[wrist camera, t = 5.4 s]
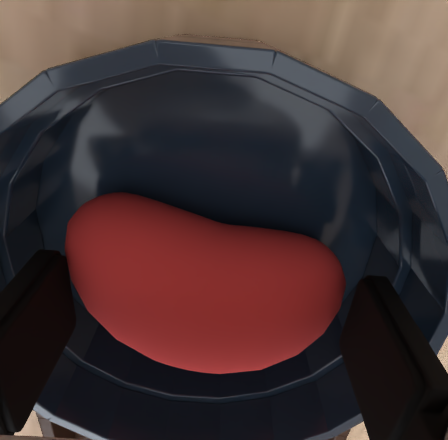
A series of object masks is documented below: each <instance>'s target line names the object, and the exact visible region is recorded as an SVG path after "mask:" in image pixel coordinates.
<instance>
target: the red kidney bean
mask: <svg viewBox="0 0 448 440" xmlns="http://www.w3.org/2000/svg"><path fill="white" fill-rule="evenodd" d="M65 254H66V259H67V264H68V268H69V273H70V278H71V281H72V283H73V285H74V287H75V288H76V290H77V292H78V294H79V296H80V297H81V299H82V301H83V303H84V305H85V307H86V308H87V310H88V312H89V313H90V314H91V315H92V316H93V317H94V318H95V319H96V320H97V321H98V322H99V323H100V324H101V325H102V326H103V327H104V328H105V329H106V330H107V331H108V332H109V333H110V334H111V335H112V336H113V337H114V338H115V339H116V340H118V341H120V342H122V343H124V344H125V345H127V346H129V347H131V348H133V349H134V350H136V351H138V352H140V353H142V354H143V355H145V356H147V357H149V358H151V359H152V360H155V361H157V362H160V363H163V364H166V365H169V366H173V367H177V368H181V369H185V370H190V371H196V372H203V373H212V374H226V373H236V372H246V371H255V370H262V369H264V368H267V367H269V366H272V365H274V364H277V363H279V362H281V361H284V360H286V359H289V358H291V357H294V356H296V355H298V354H299V353H300V352H302V351H303V350H304V349H305V348H307V347H308V346H309V345H310V344H312V343H313V342H314V341H315V340H316V339H318V338H319V337H320V336H321V335H323V334H324V332H325V331H326V329H327V328H328V326H329V325H330V323H331V322H332V320H333V319H334V317H335V316H336V314H337V313H338V311H339V309H340V307H341V304H342V300H343V296H344V292H345V288H346V279H345V276H344V273H343V269H342V266H341V264H340V262H339V260H338V258H337V257H336V256H335V254H334V253H333V252H332V251H331V250H330V249H329V248H328V247H327V246H326V245H324V244H323V243H322V242H320V241H318V240H316V239H314V238H311V237H308V236H306V235H303V234H298V233H293V232H288V231H281V230H274V229H267V228H259V227H250V226H240V225H229V224H224V223H220V222H216V221H213V220H211V219H208V218H205V217H202V216H200V215H197V214H194V213H191V212H188V211H185V210H183V209H180V208H177V207H174V206H171V205H168V204H165V203H162V202H159V201H156V200H153V199H150V198H147V197H143V196H140V195H136V194H130V193H124V192H116V193H109V194H105V195H101V196H98V197H96V198H94V199H92V200H90V201H88V202H86V203H85V204H83V205H82V206H81V207H80V208H79V209H78V210H77V211H76V213H75V214H74V215H73V216H72V218H71V219H70V220H69V222H68V224H67V232H66V240H65Z"/></svg>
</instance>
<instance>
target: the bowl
mask: <svg viewBox="0 0 448 440" xmlns="http://www.w3.org/2000/svg"><path fill="white" fill-rule="evenodd" d="M116 192H124V193H130V194H136V195H140V196H143V197H147V198H150V199H153V200H156V201H159V202H162V203H165V204H168V205H171V206H174V207H177V208H180V209H183V210H185V211H188V212H191V213H194V214H197V215H200V216H202V217H205V218H208V219H211V220H213V221H216V222H220V223H224V224H229V225H240V226H250V227H259V228H267V229H274V230H281V231H288V232H293V233H298V234H303V235H306V236H308V237H311V238H314V239H316V240H318V241H320V242H322V243H323V244H324V245H326V246H327V247H328V248H329V249H330V250H331V251H332V252H333V253H334V254H335V256H336V257H337V258H338V260H339V262H340V264H341V266H342V269H343V273H344V276H345V279H346V288H345V292H344V296H343V300H342V304H341V307H340V309H339V311H338V313H337V314H336V316H335V317H334V319H333V320H332V322H331V323H330V325H329V326H328V328H327V329H326V331H325V332H324V334H323V335H321V336H320V337H319V338H318V339H316V340H315V341H314V342H313V343H312V344H310V345H309V346H308V347H307V348H305V349H304V350H303V351H302V352H300V353H299V354H298V355H296V356H294V357H291V358H289V359H286V360H284V361H281V362H279V363H277V364H274V365H272V366H269V367H267V368H264V369H262V370H255V371H246V372H236V373H226V374H212V373H203V372H196V371H190V370H185V369H181V368H177V367H173V366H169V365H166V364H163V363H160V362H157V361H155V360H152V359H151V358H149V357H147V356H145V355H143V354H142V353H140V352H138V351H136V350H134V349H133V348H131V347H129V346H127V345H125V344H124V343H122V342H120V341H118V340H116V339H115V338H114V337H113V336H112V335H111V334H110V333H109V332H108V331H107V330H106V329H105V328H104V327H103V326H102V325H101V324H100V323H99V322H98V321H97V320H96V319H95V318H94V317H93V316H92V315H91V314H90V313H89V312H88V310H87V308H86V307H85V305H84V303H83V301H82V299H81V297H80V296H79V294H78V292H77V290H76V288H75V287H74V285H73V283H72V281H71V278H70V283H71V289H72V295H73V301H74V307H75V314H76V326H75V329H74V331H73V333H72V335H71V337H70V339H69V341H68V343H67V345H66V347H65V348H64V350H63V352H62V354H61V356H60V358H59V360H58V362H57V364H56V366H55V368H54V370H53V371H52V373H51V375H50V377H49V379H48V381H47V383H46V385H45V387H44V389H43V391H42V393H41V394H40V396H39V398H38V400H37V402H36V404H35V406H34V408H33V410H34V411H35V412H37V413H38V414H40V415H41V416H42V417H44V418H45V419H48V420H49V421H51V422H53V423H55V424H58V425H60V426H62V427H64V428H67V429H69V430H71V431H74V432H76V433H78V434H80V435H83V436H85V437H87V438H90V439H92V440H328V439H331V438H334V437H336V436H338V435H340V434H342V433H343V432H345V431H347V430H349V429H351V428H352V427H354V426H356V425H358V424H360V423H361V422H363V418H362V415H361V412H360V409H359V406H358V403H357V400H356V397H355V394H354V391H353V388H352V385H351V382H350V379H349V376H348V372H347V369H346V366H345V363H344V360H343V357H342V354H341V351H340V347H339V340H340V336H341V333H342V330H343V327H344V324H345V321H346V318H347V315H348V312H349V309H350V306H351V303H352V300H353V297H354V294H355V291H356V288H357V285H358V282H359V280H360V279H364V278H365V277H366V276H367V275H374V276H385V277H387V278H388V279H389V281H390V282H391V284H392V286H393V287H394V289H395V291H396V292H397V294H398V295H399V297H400V299H401V300H402V302H403V303H404V305H405V307H406V308H407V310H408V312H409V313H410V315H411V316H412V318H413V320H414V321H415V323H416V324H417V325H418V327H419V328H420V330H421V331H422V333H423V335H424V336H425V338H426V339H427V341H428V343H429V344H430V346H431V348H432V349H433V351H434V352H435V354H436V356H437V354H438V352H439V350H440V349H441V347H442V345H443V343H444V341H445V339H446V338H447V336H448V181H447V178H446V175H445V172H444V170H443V169H442V166H441V165H440V164H439V163H438V162H437V161H436V160H435V159H434V158H433V157H432V155H431V154H430V153H429V152H428V151H427V150H426V149H425V148H424V147H423V146H422V145H421V144H420V142H419V141H418V140H417V139H416V138H415V137H414V136H413V135H412V134H411V133H410V132H409V131H408V129H407V128H406V127H405V126H404V125H403V124H402V123H401V122H400V121H399V120H398V119H397V118H396V116H395V115H394V114H393V113H392V112H391V111H390V110H389V109H388V108H387V107H386V106H385V104H384V103H383V102H382V101H381V100H380V99H378V98H377V97H376V96H373V95H371V94H369V93H367V92H365V91H363V90H361V89H359V88H357V87H355V86H353V85H351V84H349V83H347V82H345V81H343V80H341V79H339V78H337V77H335V76H333V75H331V74H329V73H327V72H325V71H323V70H321V69H319V68H317V67H314V66H312V65H310V64H308V63H306V62H304V61H302V60H300V59H298V58H296V57H293V56H291V55H289V54H287V53H285V52H283V51H281V50H279V49H277V48H274V47H272V46H270V45H268V44H266V43H264V42H262V41H260V42H259V41H257V40H247V39H236V38H225V37H214V36H203V35H192V34H182V35H179V34H178V35H173V36H168V37H163V38H158V39H153V40H149V41H145V42H142V43H138V44H135V45H131V46H127V47H124V48H120V49H116V50H113V51H109V52H106V53H102V54H98V55H95V56H91V57H87V58H84V59H80V60H77V61H73V62H69V63H66V64H62V65H58V66H55V67H51V68H48V69H46V70H44V71H42V72H41V73H39V74H38V75H37V76H36V77H34V78H33V79H32V80H30V81H29V82H28V83H27V84H25V85H24V86H23V87H22V88H20V89H19V90H18V91H16V92H15V93H14V94H13V95H11V96H10V97H9V98H8V99H6V100H5V101H4V102H2V103H1V104H0V292H1V291H2V290H3V289H4V288H5V287H6V286H7V285H8V284H9V282H10V281H11V280H12V279H13V278H14V277H15V276H16V274H17V273H18V272H19V271H20V270H21V269H22V267H23V266H24V265H25V264H26V263H27V262H28V261H29V259H30V258H31V257H32V256H33V255H34V254H35V253H36V251H38V250H39V249H45V250H57V251H60V253H61V255H62V256H65V257H66V254H65V240H66V232H67V224H68V222H69V220H70V219H71V218H72V216H73V215H74V214H75V213H76V211H77V210H78V209H79V208H80V207H81V206H82V205H83V204H85V203H86V202H88V201H90V200H92V199H94V198H96V197H98V196H101V195H105V194H109V193H116ZM67 265H68V264H67ZM68 271H69V268H68ZM69 277H70V273H69Z"/></svg>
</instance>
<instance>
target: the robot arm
mask: <svg viewBox="0 0 448 440" xmlns="http://www.w3.org/2000/svg"><path fill="white" fill-rule="evenodd" d="M75 326H76V314H75V307H74V301H73V295H72V289H71V283H70V277H69V271H68V265H67V259H66V257H65V256H62V255H61V253H60V251H57V250H45V249H39V250H38V251H36V253H35V254H34V255H33V256H32V257H31V258H30V259H29V261H28V262H27V263H26V264H25V265H24V266H23V267H22V269H21V270H20V271H19V272H18V273H17V274H16V276H15V277H14V278H13V279H12V280H11V281H10V282H9V284H8V285H7V286H6V287H5V288H4V289H3V290H2V291H1V292H0V440H89V439H73V438H57V437H36V436H14V433H15V432H19V431H21V430H22V428H23V427H24V425H25V423H26V421H27V419H28V417H29V416H30V414H31V412H32V410H33V408H34V406H35V404H36V402H37V400H38V398H39V396H40V394H41V393H42V391H43V389H44V387H45V385H46V383H47V381H48V379H49V377H50V375H51V373H52V371H53V370H54V368H55V366H56V364H57V362H58V360H59V358H60V356H61V354H62V352H63V350H64V348H65V347H66V345H67V343H68V341H69V339H70V337H71V335H72V333H73V331H74V329H75ZM339 347H340V351H341V354H342V357H343V360H344V363H345V366H346V369H347V372H348V376H349V379H350V382H351V385H352V388H353V391H354V394H355V397H356V400H357V403H358V406H359V409H360V412H361V415H362V418H363V421H364V424H365V427H366V430H367V433H368V436H369V439H370V440H448V373H447V372H446V370H445V369H444V367H443V365H442V364H441V362H440V360H439V359H438V357H437V356H436V354H435V352H434V351H433V349H432V348H431V346H430V344H429V343H428V341H427V339H426V338H425V336H424V335H423V333H422V331H421V330H420V328H419V327H418V325H417V324H416V323H415V321H414V320H413V318H412V316H411V315H410V313H409V312H408V310H407V308H406V307H405V305H404V303H403V302H402V300H401V299H400V297H399V295H398V294H397V292H396V291H395V289H394V287H393V286H392V284H391V282H390V281H389V279H388V278H387V277H385V276H374V275H367V276H366V277H365V278H364V279H360V280H359V282H358V285H357V288H356V291H355V294H354V297H353V300H352V303H351V306H350V309H349V312H348V315H347V318H346V321H345V324H344V327H343V330H342V333H341V336H340V340H339Z"/></svg>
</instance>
